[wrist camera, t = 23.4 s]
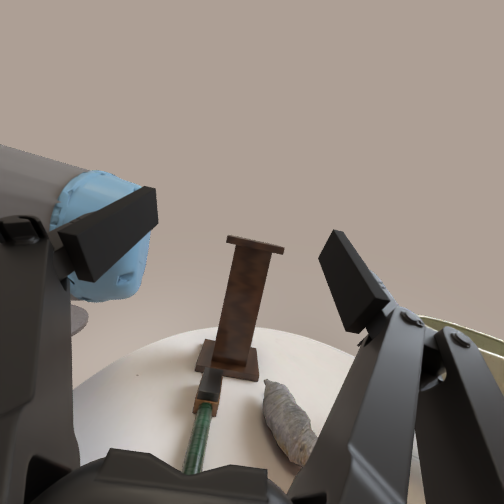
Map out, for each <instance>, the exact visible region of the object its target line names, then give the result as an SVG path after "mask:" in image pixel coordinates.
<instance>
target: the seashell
mask: <svg viewBox="0 0 504 504" xmlns="http://www.w3.org/2000/svg"><path fill="white" fill-rule="evenodd" d="M264 383H265V385H266V387H265V392H264V400H263V413H264V415H265V419H266V423H267V425H268V426H269V428H270V429H271V431H272V433H273V436H274V438H275V440H276V441H277V444H278V445H279V447H280V448H281V449H282V451H283V452H284V453H285V454H286V455H287V456H288V458H289V461H290V462H294V463H295V464H299V465H300V466H301V467H304V465H305V464H306V462H307V460H308V459H309V456H310V454H311V452H312V450H313V448H314V446H315V444H316V441H317V439H318V438H317V436H316V435H315V433H314V432H313V431H312V430H311V424H310V419H309V417H308V416H307V414H306V412H305V411H303V410H302V409H301V408H300V407H299V406H298V405H297V404H296V402H295V399H294V397H293V395H292V394H291V393H290V392H289V390H288V388H287V387H286V386H285V385H283V384H280V383H277V382H272V381H269V380H268V379H266V380H264Z"/></svg>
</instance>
